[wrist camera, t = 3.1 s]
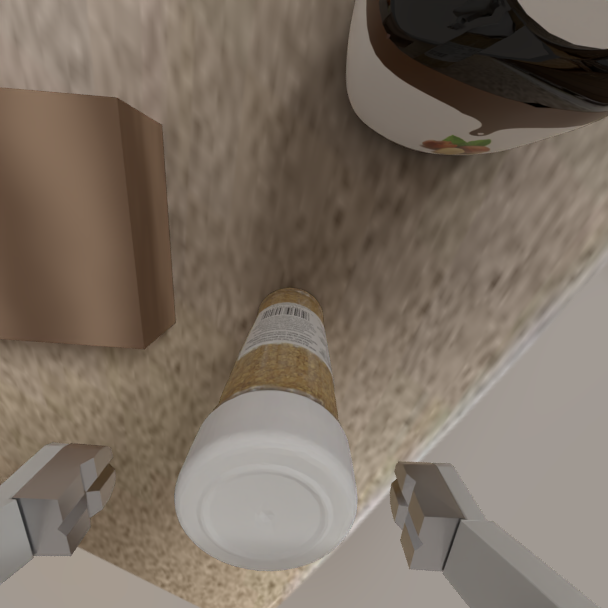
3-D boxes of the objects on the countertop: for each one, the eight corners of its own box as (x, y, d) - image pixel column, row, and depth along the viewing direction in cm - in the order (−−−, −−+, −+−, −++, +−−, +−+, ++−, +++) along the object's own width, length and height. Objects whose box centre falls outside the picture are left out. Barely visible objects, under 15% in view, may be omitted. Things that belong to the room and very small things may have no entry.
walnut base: (162, 125, 16) (116, 97, 12) (175, 322, 20) (144, 349, 16) (-56, 106, 16) (-171, 72, 12) (0, 309, 19) (-75, 333, 16)
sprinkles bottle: (251, 337, 20) (152, 560, 7) (268, 276, 19) (185, 417, 6) (312, 354, 20) (324, 596, 8) (334, 297, 19) (392, 471, 6)
